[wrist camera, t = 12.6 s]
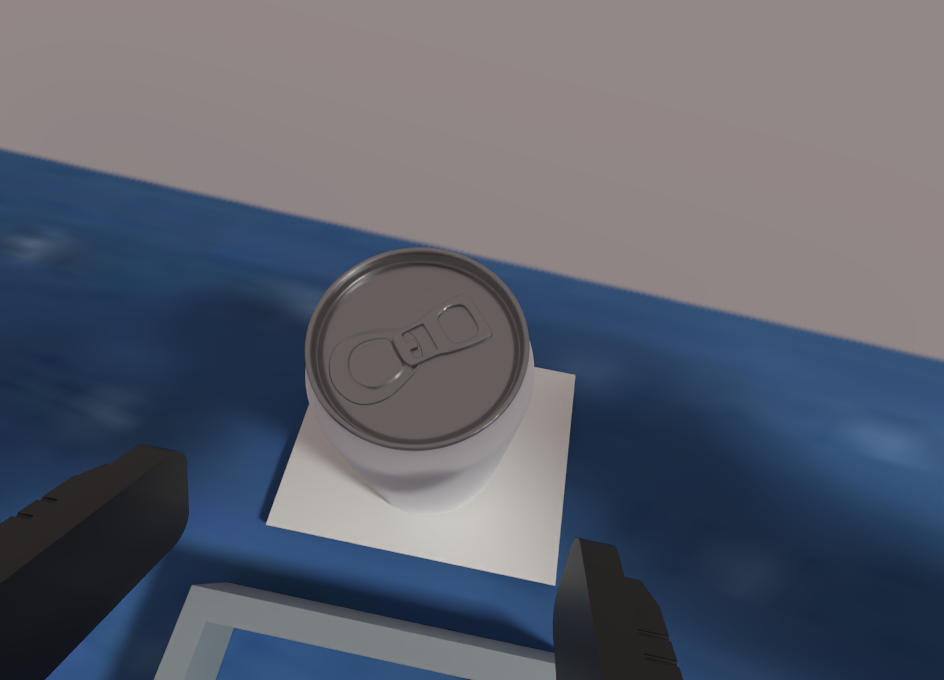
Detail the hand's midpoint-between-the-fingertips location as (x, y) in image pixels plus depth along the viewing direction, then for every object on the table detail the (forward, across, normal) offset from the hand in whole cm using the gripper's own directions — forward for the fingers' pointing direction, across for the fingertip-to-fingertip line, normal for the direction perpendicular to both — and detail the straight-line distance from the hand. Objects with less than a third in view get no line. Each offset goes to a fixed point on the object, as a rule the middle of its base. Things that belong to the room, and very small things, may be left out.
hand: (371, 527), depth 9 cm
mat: (+12, 0, +6) cm, 14 cm away
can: (+12, 0, +6) cm, 13 cm away
